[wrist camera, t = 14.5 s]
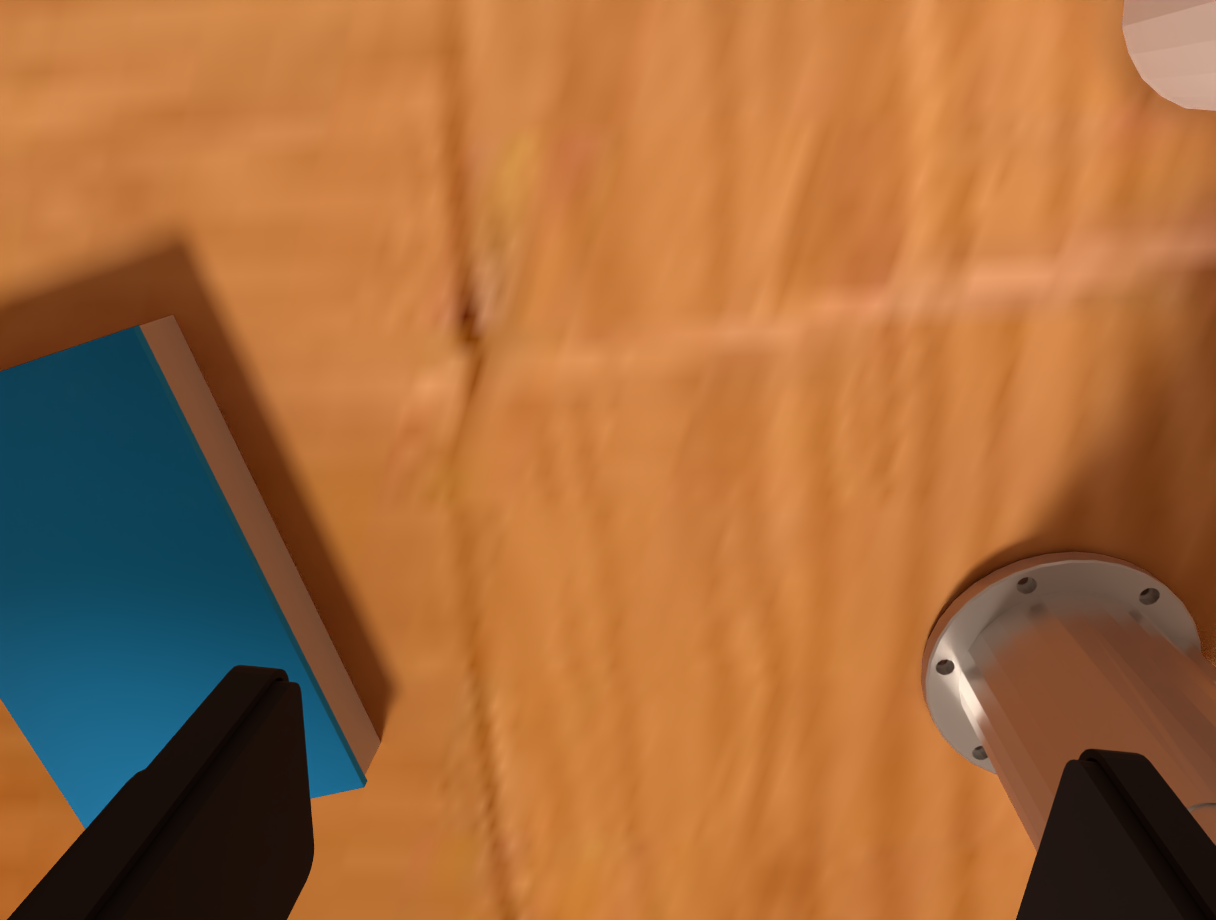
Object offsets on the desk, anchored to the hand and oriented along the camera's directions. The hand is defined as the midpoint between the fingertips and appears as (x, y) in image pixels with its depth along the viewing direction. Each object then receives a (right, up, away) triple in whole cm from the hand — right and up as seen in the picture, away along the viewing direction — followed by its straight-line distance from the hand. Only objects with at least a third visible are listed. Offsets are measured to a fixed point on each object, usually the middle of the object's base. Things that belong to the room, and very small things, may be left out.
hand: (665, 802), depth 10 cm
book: (-25, -2, +34) cm, 42 cm away
